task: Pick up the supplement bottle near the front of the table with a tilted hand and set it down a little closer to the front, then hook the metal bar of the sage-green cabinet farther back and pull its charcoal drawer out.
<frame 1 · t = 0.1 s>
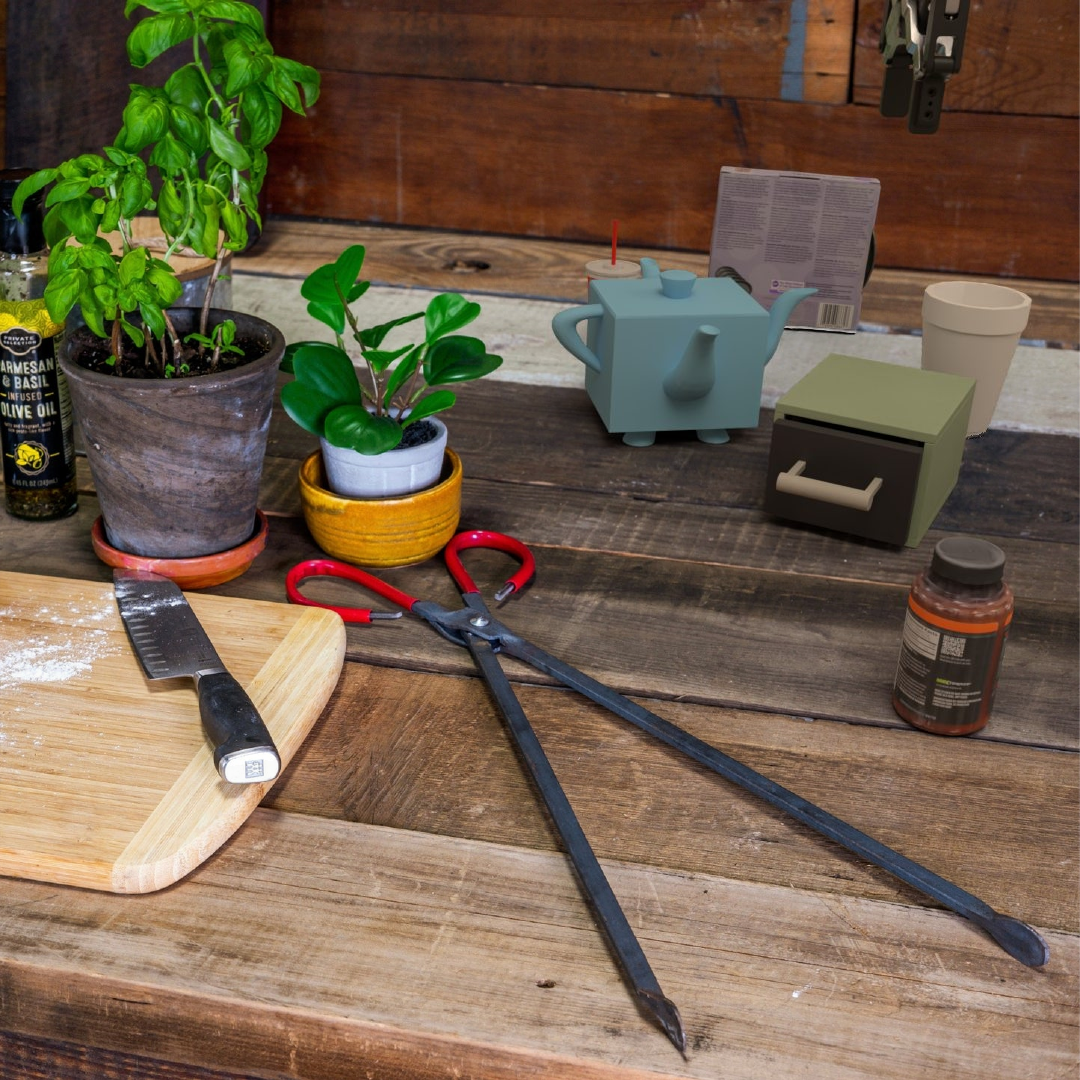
hand: (906, 124, 97), 30 cm above the table, tool pointing down, fingers open, 8 cm apart
cake pan box: (783, 325, 150), on the table
foam cup: (952, 428, 122), on the table
drawer: (854, 464, 100), point 5 cm above the table, slide at 0.8 cm
teakettle: (677, 426, 120), on the table
beverage cup: (608, 347, 141), on the table
supplement bottle: (938, 714, 78), on the table
cabinet: (862, 497, 106), on the table
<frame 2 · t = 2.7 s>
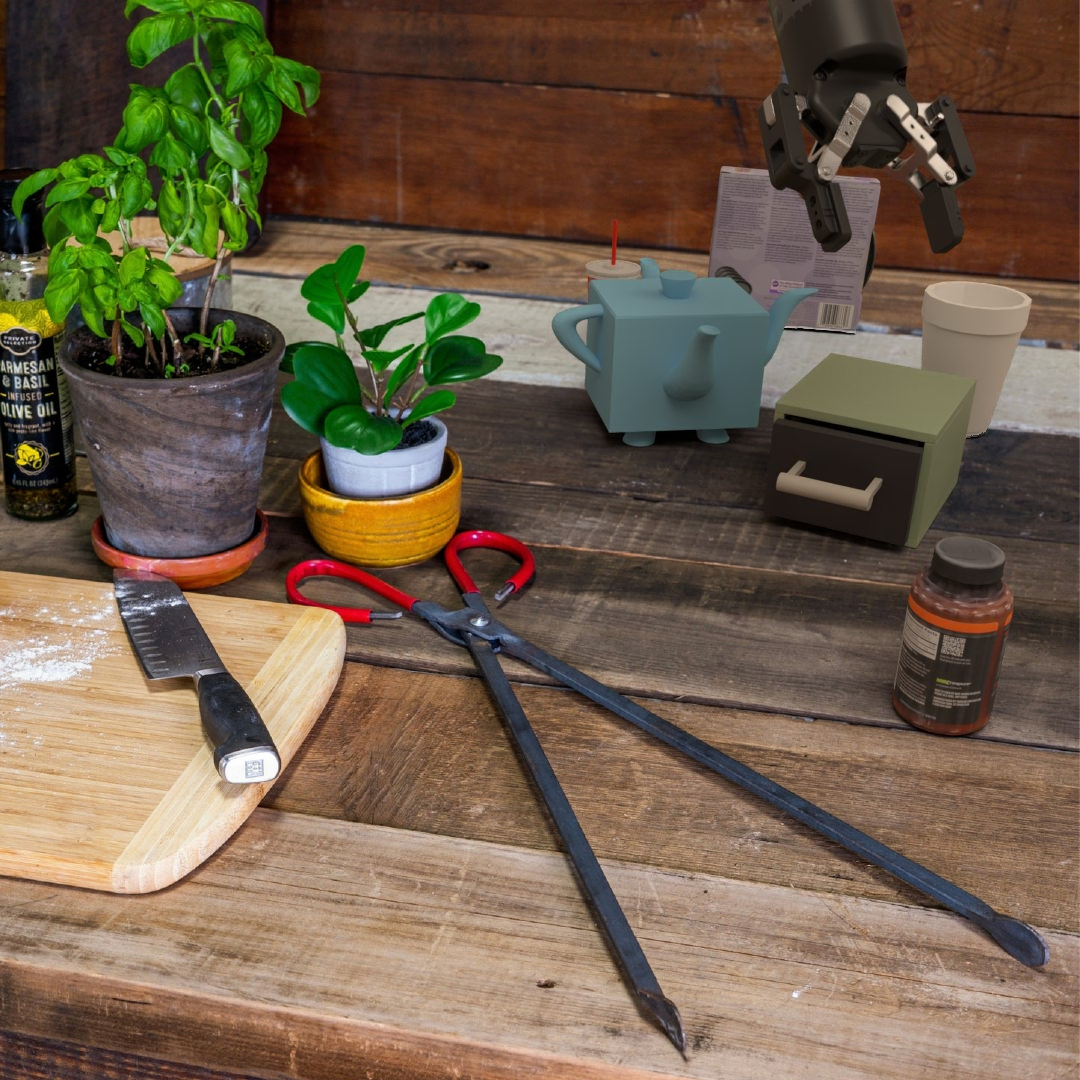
hand: (895, 247, 78), 26 cm above the table, tool tilted 40°, fingers open, 8 cm apart
nothing on the table moved.
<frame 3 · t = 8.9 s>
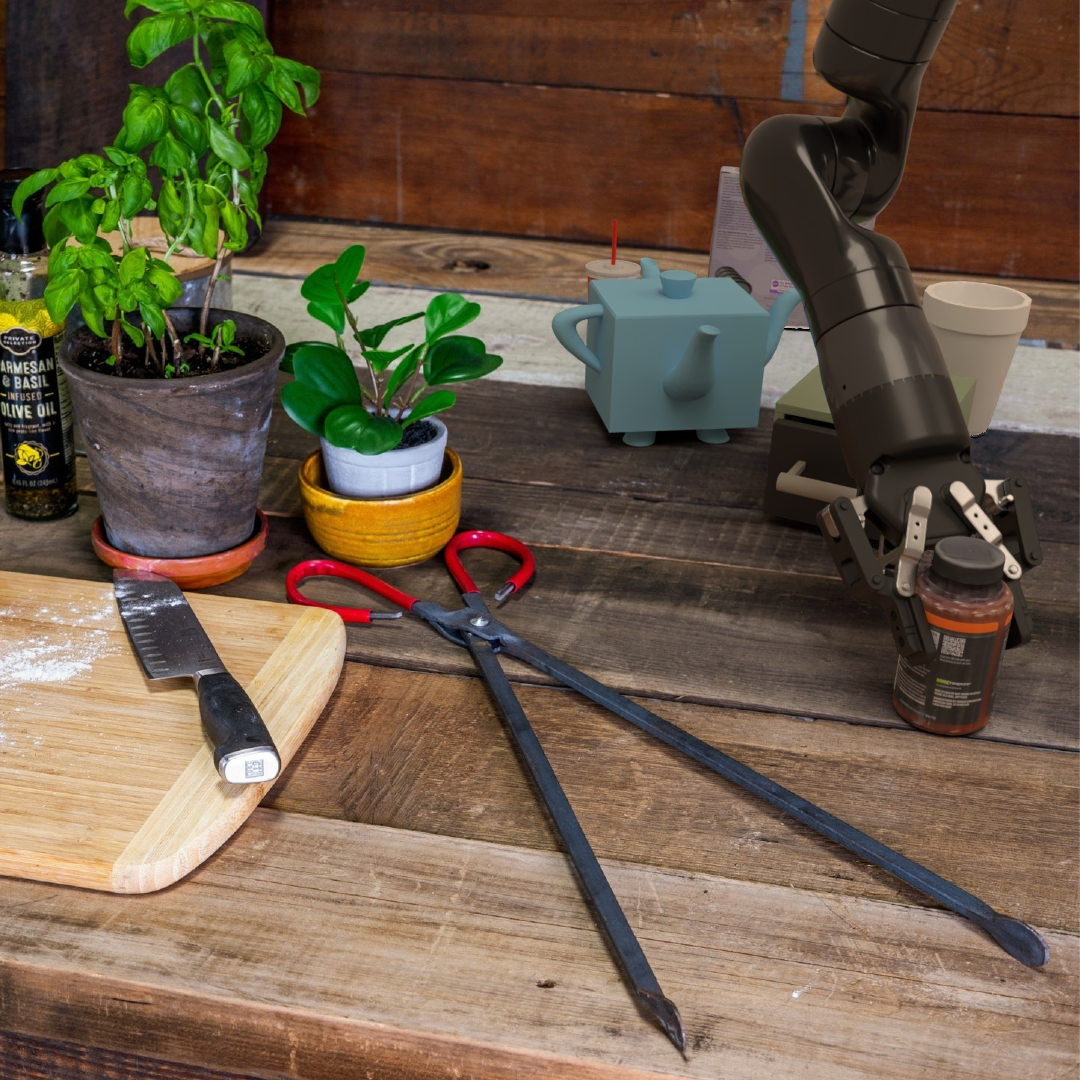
hand: (971, 653, 74), 5 cm above the table, tool tilted 45°, fingers closed on supplement bottle, 6 cm apart
supplement bottle: (938, 714, 78), on the table, touching gripper
everything else where it was.
when the fingers open (5 cm above the table, at t = 16.5 s): supplement bottle stays where it is, on the table.
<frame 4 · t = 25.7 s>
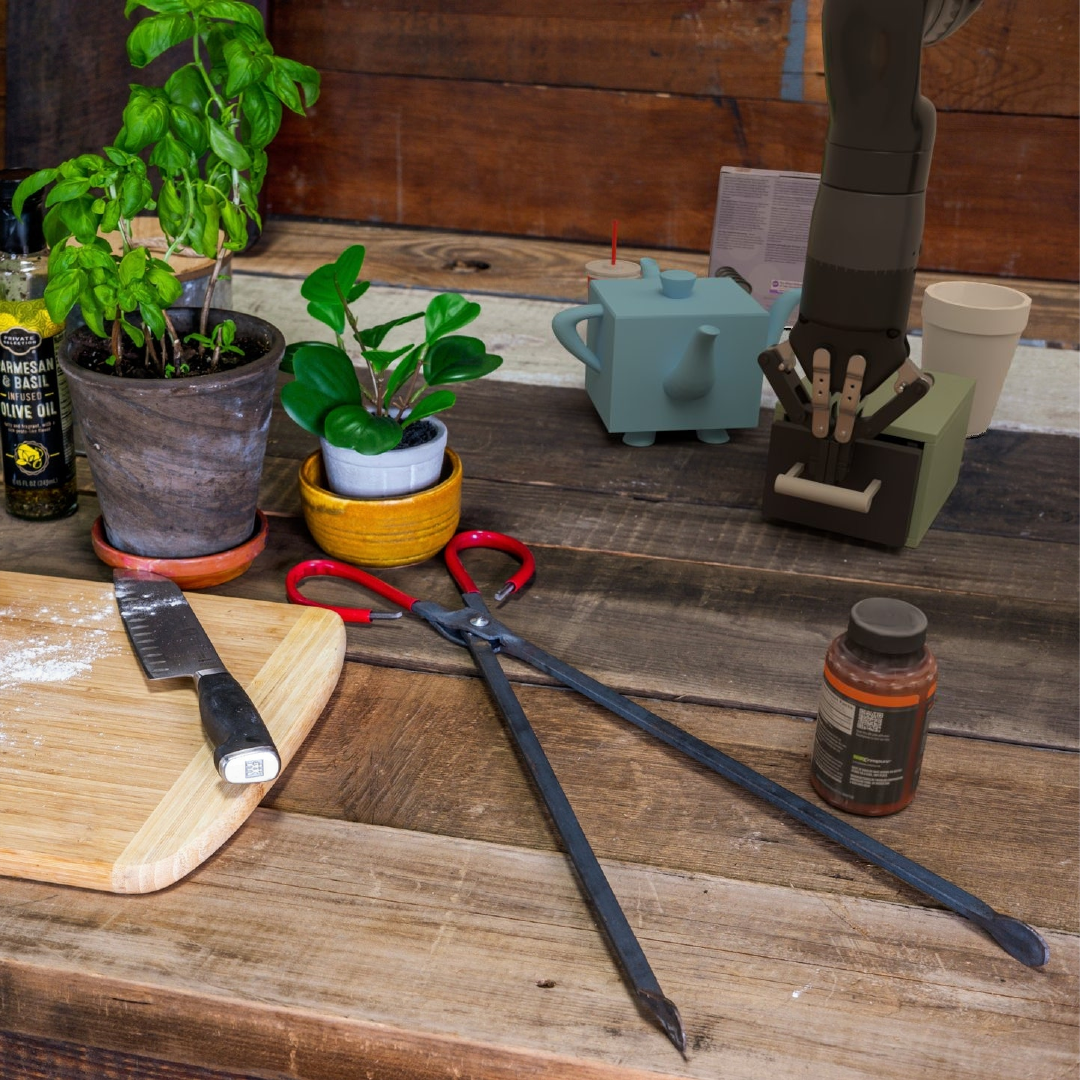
hand: (827, 481, 94), 6 cm above the table, tool pointing down, fingers closed
drawer: (852, 466, 100), point 5 cm above the table, slide at 1.2 cm, touching gripper
supplement bottle: (860, 790, 71), on the table
everything else where it was.
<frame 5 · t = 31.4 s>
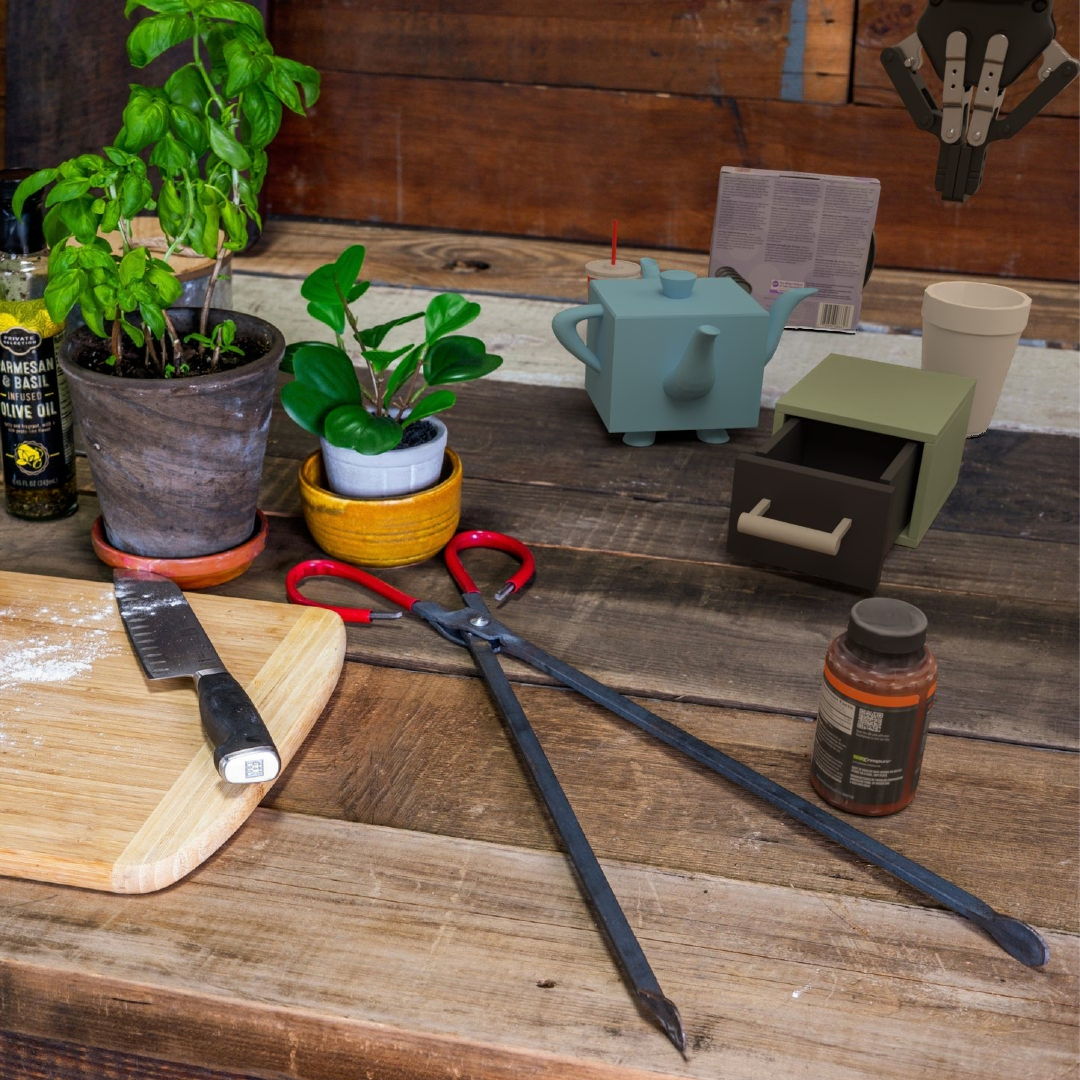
hand: (955, 200, 85), 27 cm above the table, tool pointing down, fingers closed
drawer: (823, 502, 94), point 5 cm above the table, slide at 9.0 cm
everything else where it was.
at the end: drawer slide at 9.0 cm; supplement bottle inside the target area (0.1 cm from its centre), on the table; supplement bottle tilted 0° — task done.
